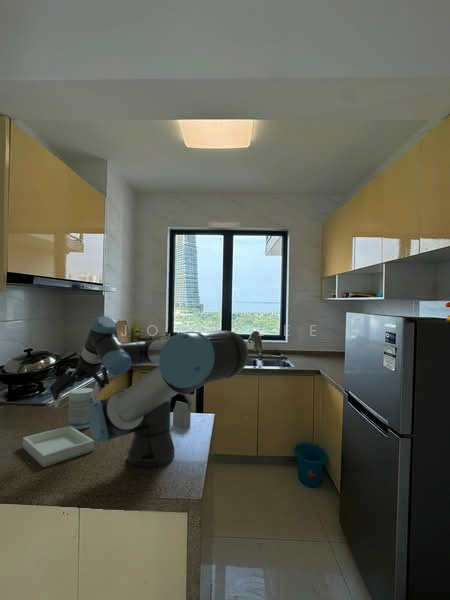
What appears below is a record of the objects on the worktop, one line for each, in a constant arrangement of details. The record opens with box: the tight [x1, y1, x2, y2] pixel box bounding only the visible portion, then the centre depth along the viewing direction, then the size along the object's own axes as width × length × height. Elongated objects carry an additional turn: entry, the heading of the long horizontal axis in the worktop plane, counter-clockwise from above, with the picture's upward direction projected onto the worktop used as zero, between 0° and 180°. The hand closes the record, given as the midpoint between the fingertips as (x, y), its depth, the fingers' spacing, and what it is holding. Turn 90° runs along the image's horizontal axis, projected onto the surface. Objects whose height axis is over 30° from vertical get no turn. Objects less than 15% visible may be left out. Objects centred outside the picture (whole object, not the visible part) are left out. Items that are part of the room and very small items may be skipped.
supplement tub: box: [67, 387, 95, 431], centre depth 132 cm, size 10×10×15 cm
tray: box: [22, 425, 95, 468], centre depth 110 cm, size 20×16×4 cm
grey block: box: [172, 400, 192, 430], centre depth 133 cm, size 4×7×10 cm, turn 53°
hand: (74, 400), depth 115 cm, fingers open, 13 cm apart
